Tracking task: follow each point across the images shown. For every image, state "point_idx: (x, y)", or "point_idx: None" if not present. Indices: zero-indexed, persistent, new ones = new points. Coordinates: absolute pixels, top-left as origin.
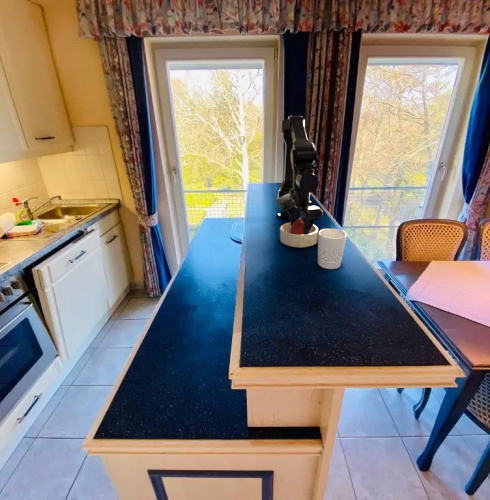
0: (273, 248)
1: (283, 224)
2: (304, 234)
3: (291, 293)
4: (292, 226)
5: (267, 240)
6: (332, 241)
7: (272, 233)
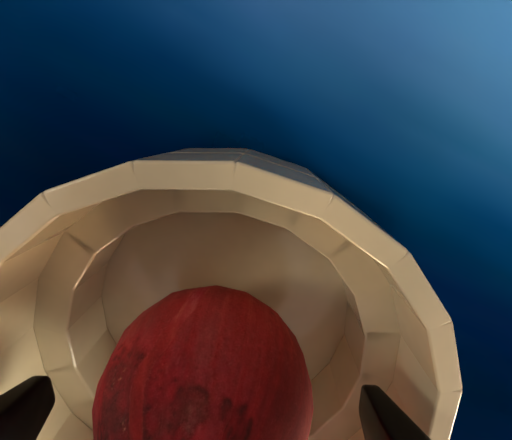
0: (147, 12)
1: (438, 309)
2: (34, 376)
3: None
4: (199, 364)
5: (368, 41)
6: None
7: (508, 181)
